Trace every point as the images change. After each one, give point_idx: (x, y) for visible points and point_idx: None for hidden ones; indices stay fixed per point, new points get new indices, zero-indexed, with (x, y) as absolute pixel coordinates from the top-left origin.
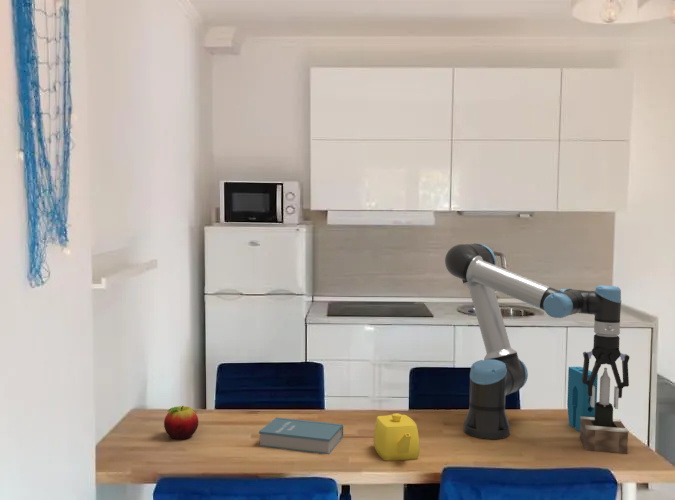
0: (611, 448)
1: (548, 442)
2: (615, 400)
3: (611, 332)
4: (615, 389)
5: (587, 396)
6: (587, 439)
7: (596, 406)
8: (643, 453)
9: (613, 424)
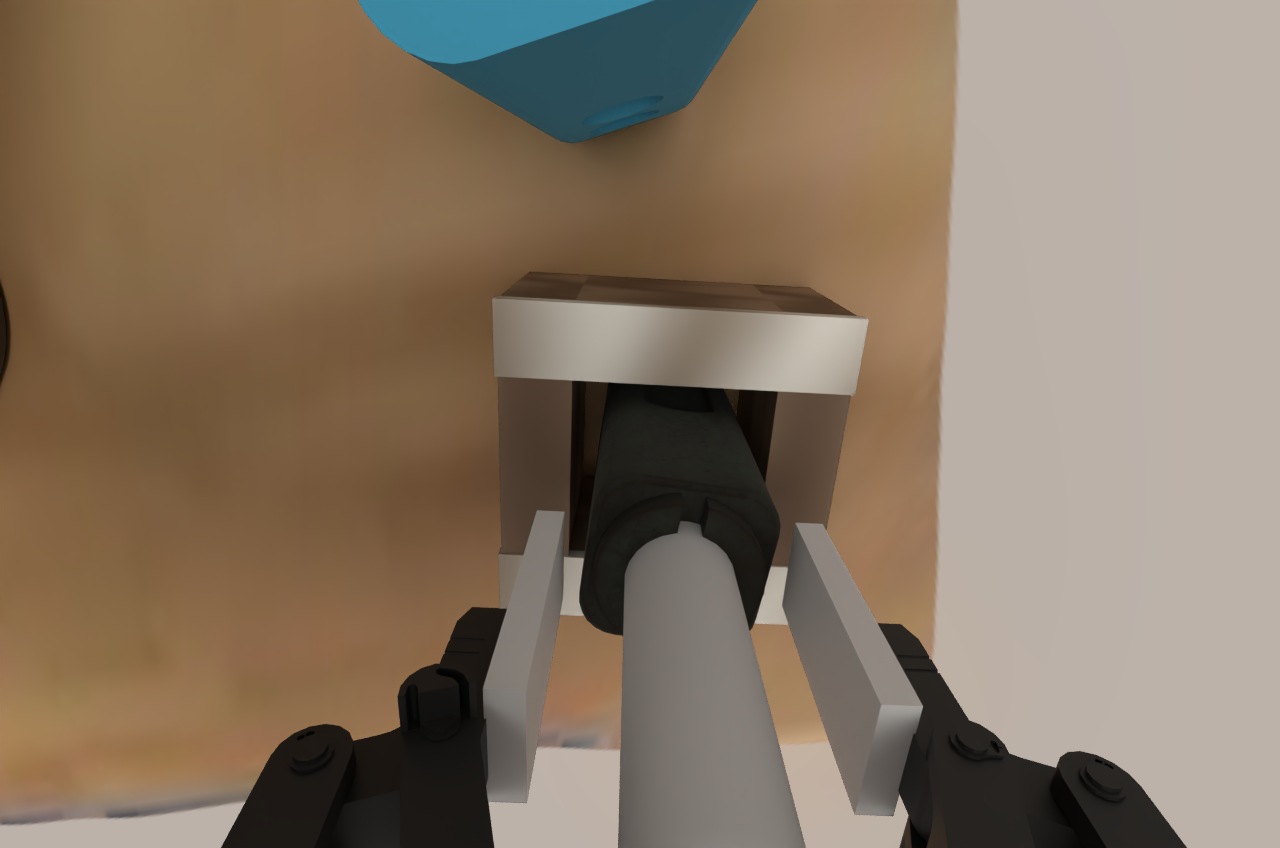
0: None
1: (299, 421)
2: (806, 655)
3: None
4: (853, 751)
5: (566, 119)
6: None
7: (583, 609)
8: (879, 508)
9: (770, 408)
